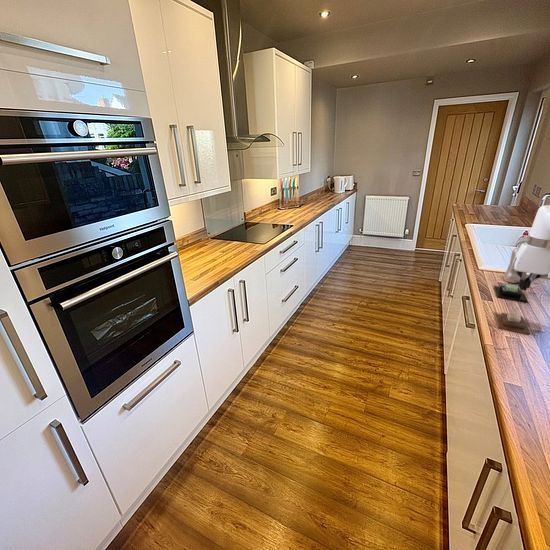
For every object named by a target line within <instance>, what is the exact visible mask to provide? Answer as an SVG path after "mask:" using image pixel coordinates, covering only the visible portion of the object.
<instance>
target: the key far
mask: <svg viewBox="0 0 550 550" xmlns="http://www.w3.org/2000/svg"><path fill="white" fill-rule="evenodd" d="M505 286H506V287H505V288H506V291H512V292H517V291H518V288H519V287H518V285H513V284H508V283H507V284H505Z"/></svg>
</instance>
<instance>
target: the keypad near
mask: <svg viewBox="0 0 550 550" xmlns="http://www.w3.org/2000/svg"><path fill="white" fill-rule="evenodd" d="M507 314H508V313H505V312H501V313H500V314H497V313H495V314H494V320H495V323H496V327H497V329H498V330H501V331H505V332H506V331H507V332H511V333H516V334H520V335H525V336H529V335H530V333H531V332H530V329H529V328H528V326H527V323H526V321H525V319H524V318H523V316H520V318H521V321H520V323H518V322H513V321H509V320H508V318H507Z"/></svg>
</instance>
